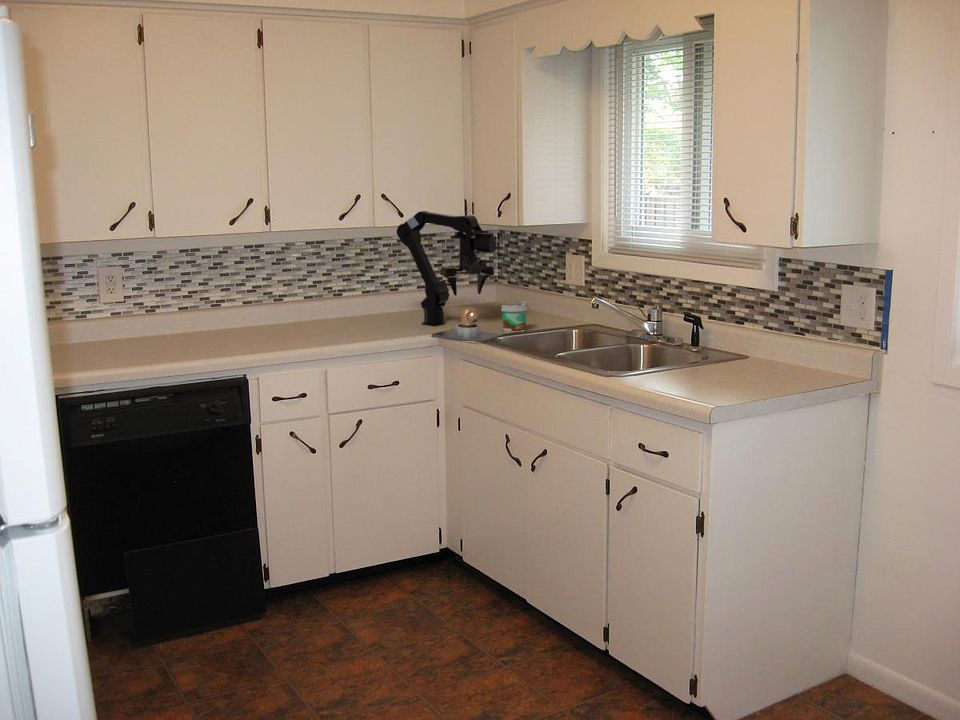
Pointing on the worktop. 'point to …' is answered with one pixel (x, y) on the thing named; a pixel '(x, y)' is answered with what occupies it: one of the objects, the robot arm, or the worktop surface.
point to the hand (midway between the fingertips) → (467, 294)
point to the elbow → (468, 317)
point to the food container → (514, 316)
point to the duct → (466, 334)
